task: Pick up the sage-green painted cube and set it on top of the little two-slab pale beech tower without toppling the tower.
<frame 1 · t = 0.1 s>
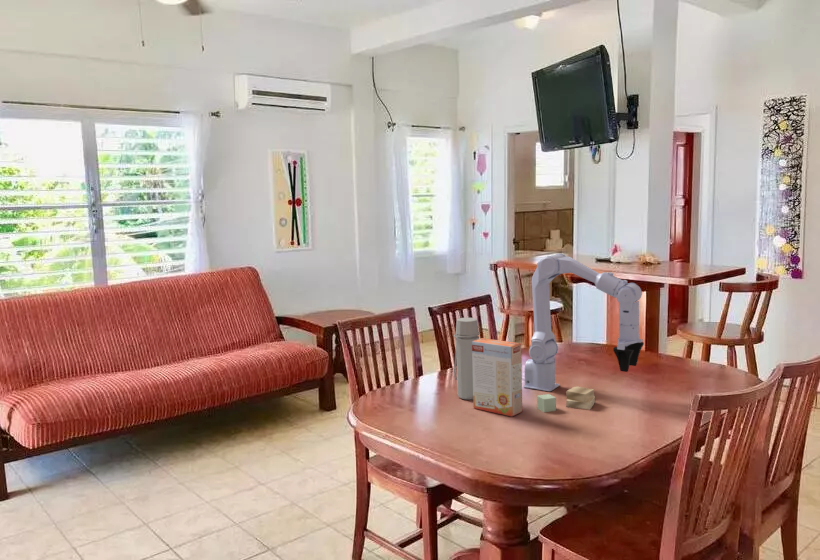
hand: (628, 368, 203), 10 cm above the table, tool pointing down, fingers open, 7 cm apart
water bottle: (466, 397, 214), on the table
cracker box: (497, 411, 200), on the table
beech slab top: (580, 398, 202), point 2 cm above the table, touching beech slab bottom
sage cube: (546, 409, 199), on the table
beech slab bottom: (580, 406, 202), on the table, touching beech slab top
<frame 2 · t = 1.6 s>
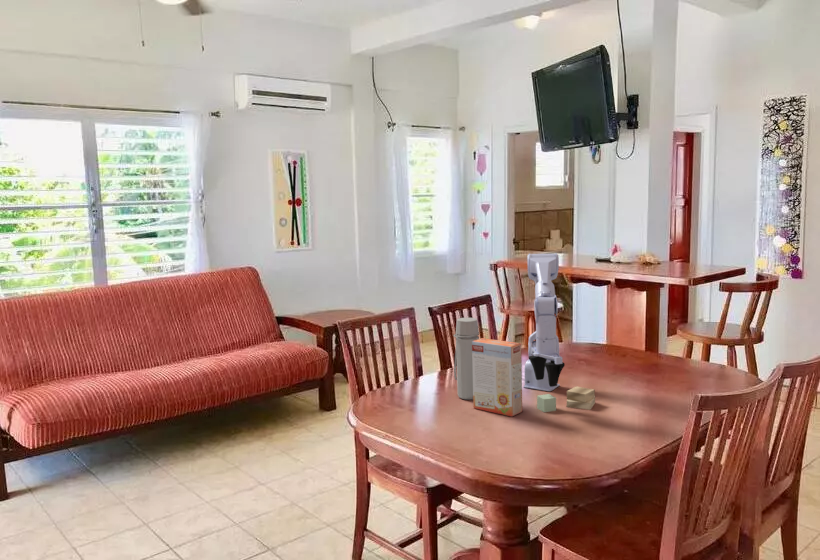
hand: (546, 382, 198), 8 cm above the table, tool pointing down, fingers open, 7 cm apart
nothing on the table moved.
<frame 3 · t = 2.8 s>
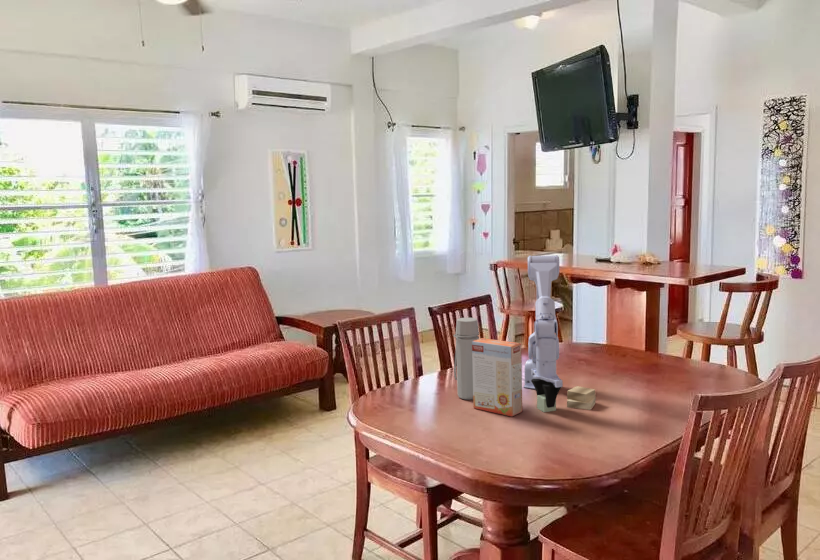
hand: (546, 404, 199), 1 cm above the table, tool pointing down, fingers closed on sage cube, 4 cm apart
sage cube: (546, 409, 199), on the table, touching gripper
everything else where it was.
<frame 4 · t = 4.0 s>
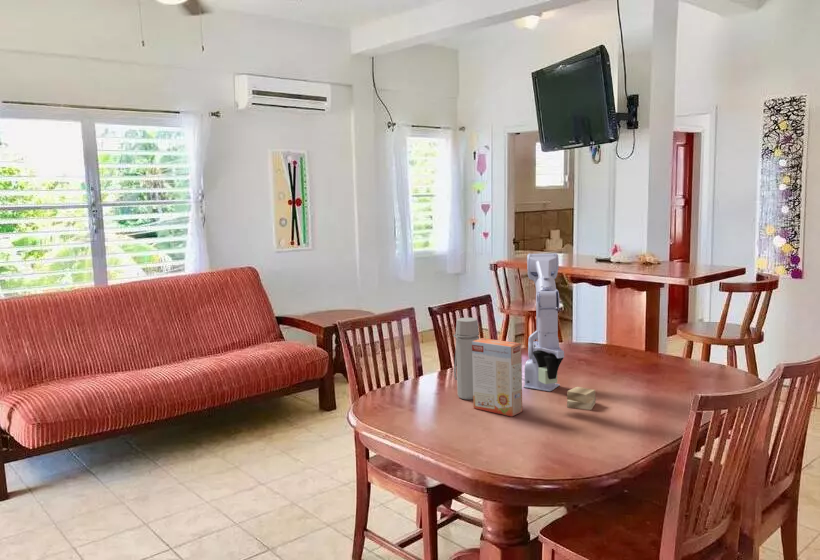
hand: (548, 376, 198), 10 cm above the table, tool pointing down, fingers closed on sage cube, 4 cm apart
sage cube: (547, 381, 198), point 8 cm above the table, touching gripper
everything else where it was.
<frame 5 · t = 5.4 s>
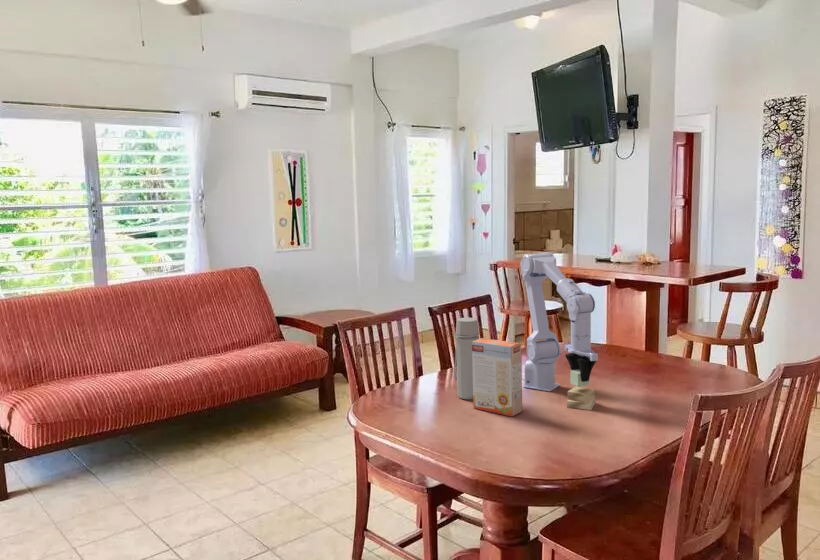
hand: (580, 379, 201), 8 cm above the table, tool pointing down, fingers closed on sage cube, 4 cm apart
sage cube: (579, 384, 201), point 6 cm above the table, touching gripper
everything else where it was.
when the fingers open (8 cm above the table, at t = 5.5 s): sage cube drops 2 cm, resting on beech slab top.
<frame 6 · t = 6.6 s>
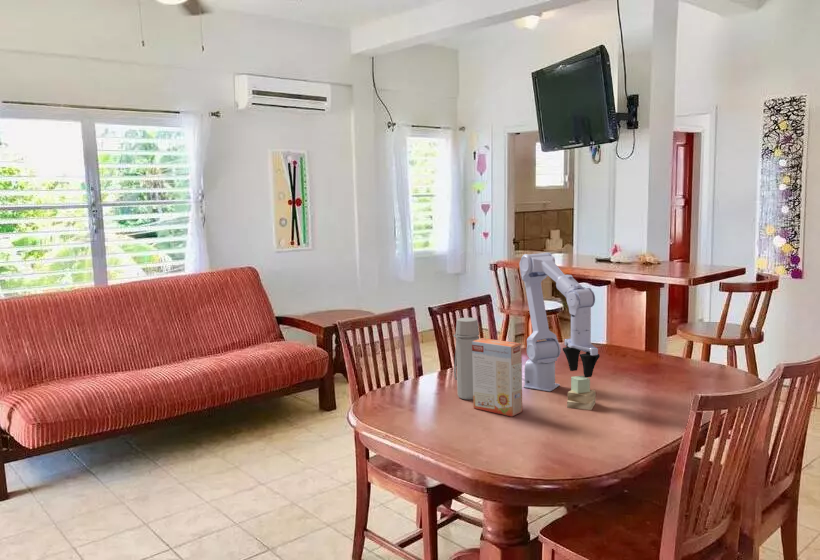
hand: (580, 373, 201), 10 cm above the table, tool pointing down, fingers open, 7 cm apart
beech slab top: (581, 399, 201), point 2 cm above the table, touching beech slab bottom, sage cube
sage cube: (580, 390, 201), point 4 cm above the table, touching beech slab top
everything else where it was.
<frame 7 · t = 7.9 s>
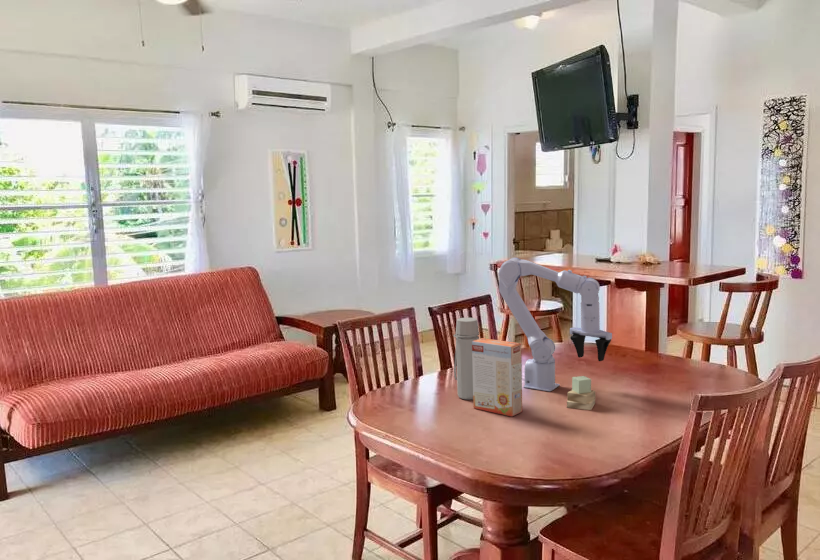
hand: (590, 358, 214), 10 cm above the table, tool pointing down, fingers open, 7 cm apart
nothing on the table moved.
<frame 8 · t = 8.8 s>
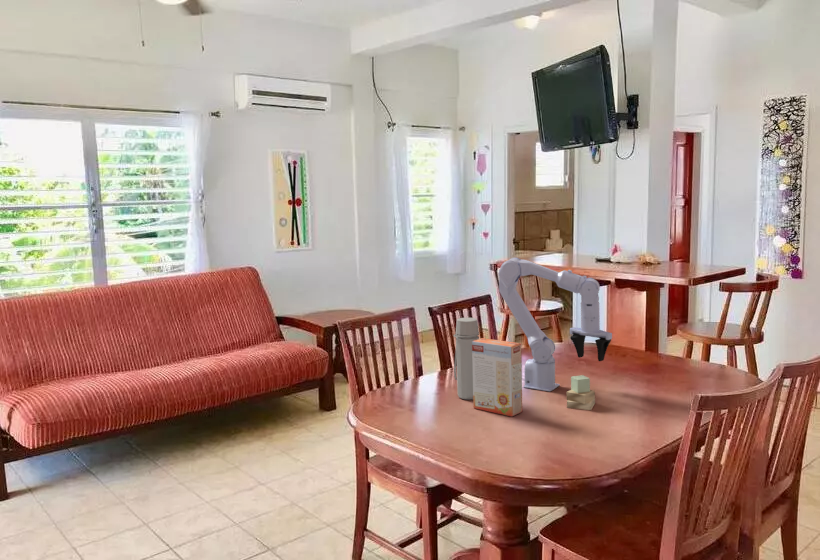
hand: (590, 358, 214), 10 cm above the table, tool pointing down, fingers open, 7 cm apart
nothing on the table moved.
at the end: sage cube 0.7 cm off-centre on the beech slab top, point 2.5 cm above the beech slab top's base; beech slab top tilted 0°; sage cube tilted 0° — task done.
